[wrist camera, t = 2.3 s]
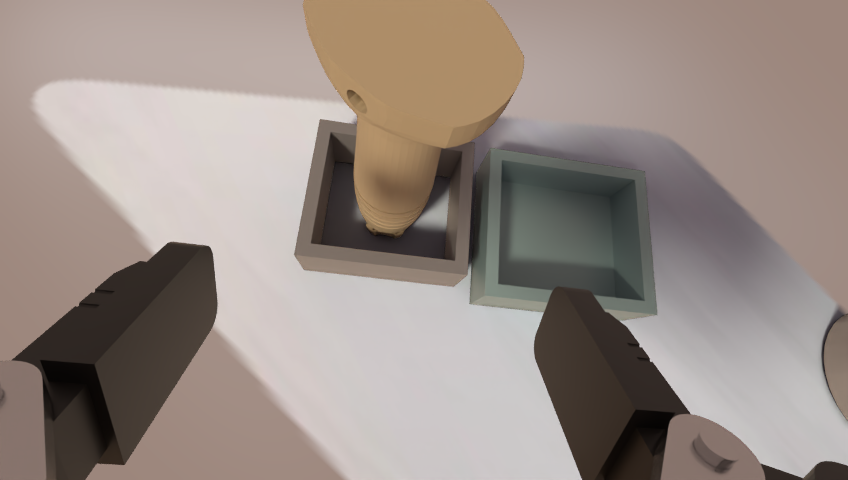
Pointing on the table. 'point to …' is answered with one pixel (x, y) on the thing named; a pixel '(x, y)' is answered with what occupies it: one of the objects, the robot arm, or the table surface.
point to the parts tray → (561, 234)
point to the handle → (412, 90)
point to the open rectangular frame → (340, 146)
